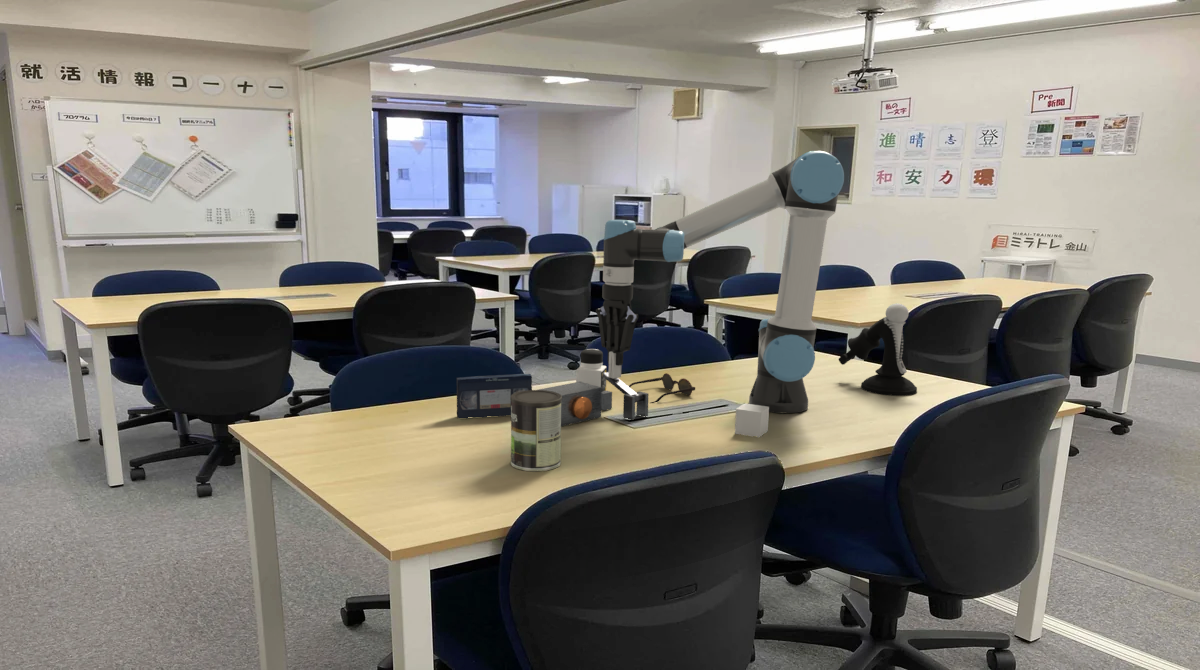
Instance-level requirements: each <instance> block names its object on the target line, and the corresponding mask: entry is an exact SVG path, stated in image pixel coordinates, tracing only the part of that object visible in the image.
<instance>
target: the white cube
mask: <svg viewBox="0 0 1200 670" xmlns="http://www.w3.org/2000/svg"><path fill="white" fill-rule="evenodd" d="M769 413H770V412H769V407H767V406H760V405H753V404H749V403H743V404H741V405H740V406H738V407H736V408H735V424H734V434H735V435H740V434H741V436H747V435H748V436H747V437H753V436H757V437H756V438H759V437H760V436H761V437H763V436H764V435H765V434H766V433H767V432H768V430H769ZM764 433H765V434H764ZM763 434H764V435H763ZM762 435H763V436H762ZM761 437H760V438H761Z"/></svg>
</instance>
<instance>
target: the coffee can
mask: <svg viewBox="0 0 1200 670" xmlns="http://www.w3.org/2000/svg"><path fill="white" fill-rule="evenodd" d="M510 400H511V416H510V465H511V467H513V468H515V469H516V470H519V471H525V472H547V471H551V470H554V469H556V468H559V466H560V465H561V464H562V460H561V452H562V451H561V450H562V449H561V447H562V445H561V444H562V442H561V441H562V440H561V439H562V436H561V435H562V426H561V401H562V395H560V394H559V393H556V392H552V391H546V390H538V389H532V390H527V391H520V392H517V393H514V394H512V395H511V396H510Z"/></svg>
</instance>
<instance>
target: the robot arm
mask: <svg viewBox="0 0 1200 670" xmlns="http://www.w3.org/2000/svg"><path fill="white" fill-rule="evenodd" d="M844 183H845V172H844V168H843V166H842V164H841V162H840V161H839V159H838V158H837V157H835V156H834V155H833V154H831V153H829V152H827V151H823V150H810V151H807V152H805V153H803V154H801V155H800V156H797V157H795V158H794V159H793V160H792V161H791V162H789V163H788V164H787V165H784V166H783V167H781V168H779V169H778V170H775V171H773V172H771V173H769V175H768V176H767V179H765V180H763V181H761V182H759V183H756V184H753V185H751V186H750V187H748V188H744V189H743V190H741V191H739V192H736V193H734V194H731V195H729V196H728V197H725V198H723V199H720V200H718V201H716V202H714V203H712V204H709V205H708V206H707V205H706V206H705V207H703V208H700V209H699V210H696V211H694V212H691V213H689V214H687V215H685V216H683V217H680V218H677V219H676V220H674V221H672V222H669V223H667V224H665V225H663V226H659V227H657V228H655V229H641V228H637V225H636V221H634V220H630V219H629V220H627V219H610V220H607V221H606V222H605V224H604V236H603V264H602V265H603V266H602V267H603V268H602V281H603V282H604V283H603V284H602V290H601V291H602V293H601V294H602V295H601V297H602V298H603V300H604V301H603V304H602V306H601V307H600V308H596V309H595V313H596V316H597V319H598V327H599V336H600V343H601V347H602V348H605V349H606V350H607V359H606V360H607V364H608V370H607V372H608V377H609V378H613V379H614V378H619V379H620V378H622V366H623V364H624V353H625V352H627V351H630V350H631V347H632V340H633V338H634V337H633V336H634V333H635V332H634V331H635V327H636V323H637V321H638V320H639V318H640V317H639V314H638V313H634V312H633V311H632V305H631V301H632V300H633V295H634V285H633V284H632V283H634V278H635V277H634V273H635V270H634V269H635V260H637V261H653V262H656V261H657V262H667V263H671V262H681V261H683V260H684V254H685V252H684V251H685V249H687V248H689V247H692V246H693V245H696V244H698V243H701V242H703V241H705V240H707V239H710V238H712V237H714V236H715V237H716V235H718V234H721V233H723V232H726V231H728V230H730V229H732V228H735V227H737V226H740V225H742V224H744V223H747V222H749V221H751V220H754V219H756V218H757V217H760V216H762V215H764V214H767V213H769V212H772V211H774V210H776V209H778V208H780V209H783V210H786V211H787V212H788V214H789V220H788V221H789V222H788V228H787V235H786V241H785V247H784V253H783V260H782V266H781V267H782V268H781V272H780V273H781V274H780V281H779V285H778V286H779V287H778V288H779V289H778V293H777V294H778V295H777V301H776V305H775V306H776V307H775V313H774V315H773V316H772V317H770V318H764V319H761V321H760V323H759V328H758V336H759V337H758V354H757V369H756V370H757V373H756V378H755V381H754V384H753V386H752V389H751V390H750V393H749V398H748V404H753V405H760V406H767V407H769V413H777V414H793V413H796V414H797V413H802V412H806V410H808V409H809V397H808V395H807V390H806V387H805V382H804V378H805V377H806V376H808V375H809V373H810V372H811V371H812V369H813V367H814V365H815V360H816V352H815V348H814V346H815V341H816V340H815V339H816V333H817V328H818V327H817V326H816V324H815V323H814V321H813V320H812V317H813V311H814V305H815V299H816V293H817V287H818V282H819V274H820V266H821V262H822V255H823V249H824V248H823V247H824V242H825V235H826V231H827V230H826V229H827V224H828V220H829V218H831V217H832V216H833V215H835V213H836V210H837V204H838V198H839V193H840V192H841V190H842V189H843V185H844Z"/></svg>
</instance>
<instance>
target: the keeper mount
mask: <svg viewBox="0 0 1200 670" xmlns="http://www.w3.org/2000/svg"><path fill="white" fill-rule="evenodd" d="M636 393H637V394H638V393H642V394H643V397H644V399H643V401H640V402H635V396H632V395H628V394H623V411H622V412H623V413H622V414H623V415H622V418H623V417H624V418H628V419H631V420H633V419H635V420H636V416H637V415H641V416H645V417H646V416H648V417H649V393H648V392H643V391H636ZM611 408H612V409H613V392H612V391H610V390H606V391H602V392H601V411H602V410H604V411H608V410H607V409H609V410H612V409H611ZM636 414H637V415H636Z"/></svg>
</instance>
